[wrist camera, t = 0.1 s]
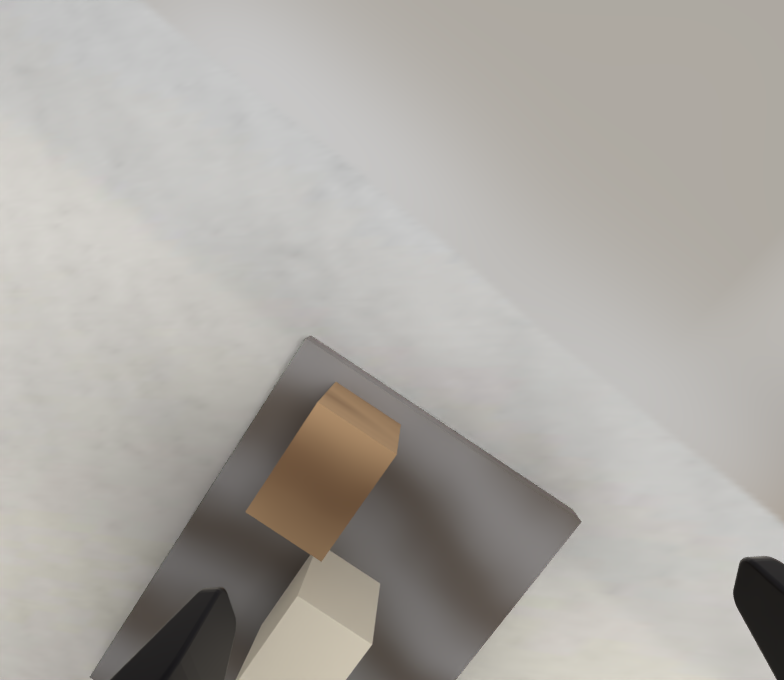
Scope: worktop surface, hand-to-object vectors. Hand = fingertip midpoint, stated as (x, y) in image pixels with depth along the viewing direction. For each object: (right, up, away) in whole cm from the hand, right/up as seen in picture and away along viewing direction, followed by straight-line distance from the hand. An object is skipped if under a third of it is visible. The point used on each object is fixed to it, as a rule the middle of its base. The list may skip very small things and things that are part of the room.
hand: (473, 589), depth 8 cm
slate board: (-5, -10, +17) cm, 20 cm away
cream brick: (-5, -10, +16) cm, 20 cm away
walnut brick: (-4, -1, +15) cm, 15 cm away
